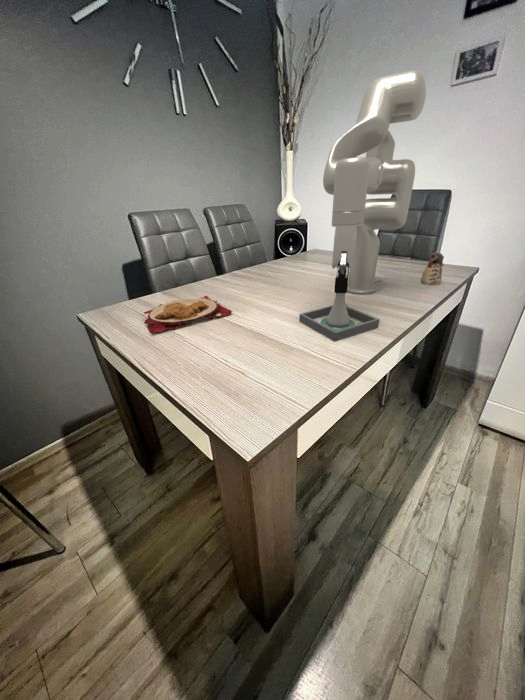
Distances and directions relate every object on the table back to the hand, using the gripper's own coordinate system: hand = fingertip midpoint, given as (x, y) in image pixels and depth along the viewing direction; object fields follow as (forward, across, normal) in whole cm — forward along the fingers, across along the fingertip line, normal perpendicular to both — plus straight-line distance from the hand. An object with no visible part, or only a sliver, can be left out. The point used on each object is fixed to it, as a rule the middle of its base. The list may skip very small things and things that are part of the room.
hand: (341, 286), depth 76 cm
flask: (+11, +1, 0) cm, 11 cm away
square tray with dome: (+11, +1, 0) cm, 11 cm away
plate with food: (+12, +1, -52) cm, 53 cm away
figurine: (+13, -48, +34) cm, 60 cm away
